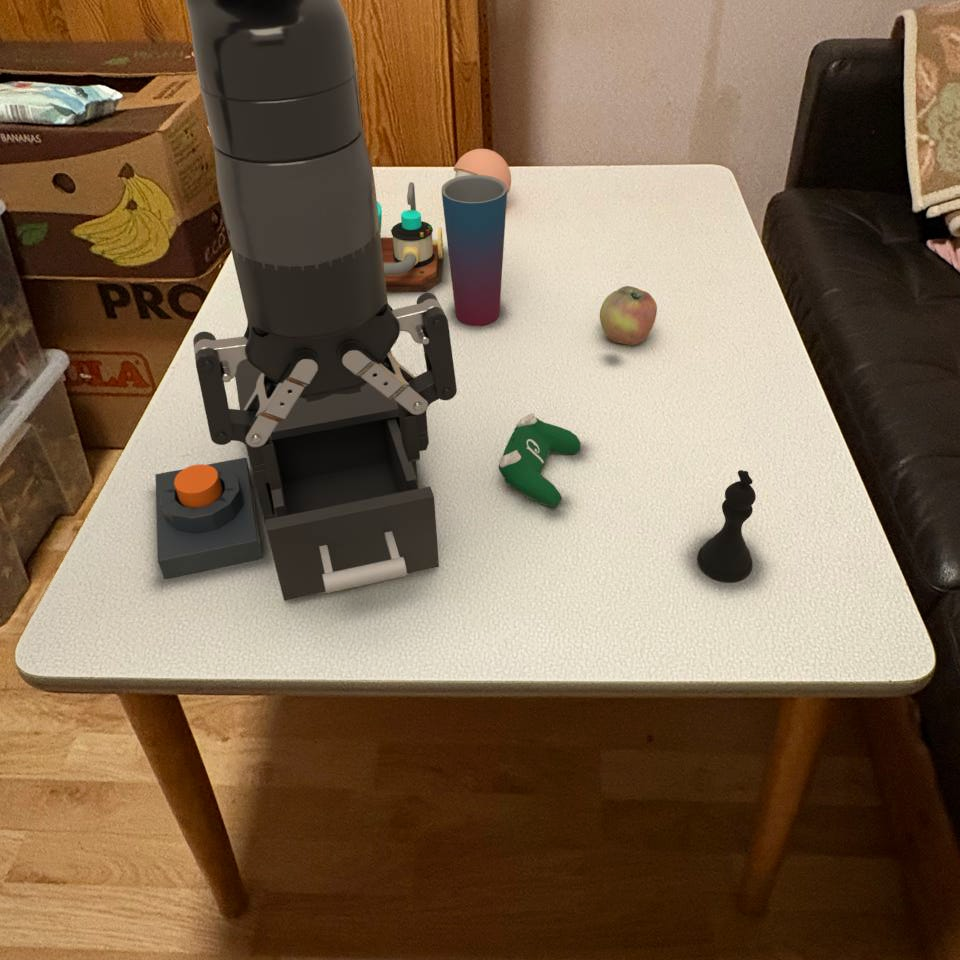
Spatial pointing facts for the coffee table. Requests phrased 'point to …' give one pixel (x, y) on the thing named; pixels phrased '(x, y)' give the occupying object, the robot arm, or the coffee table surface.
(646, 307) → the apple
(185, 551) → the control block
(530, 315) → the coffee table surface
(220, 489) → the button
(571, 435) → the gaming controller
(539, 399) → the coffee table surface
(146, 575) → the coffee table surface
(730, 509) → the chess piece
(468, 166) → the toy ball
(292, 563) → the dark box with handle
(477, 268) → the cup
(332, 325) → the robot arm
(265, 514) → the drawer cabinet
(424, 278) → the contraption on wooden base
